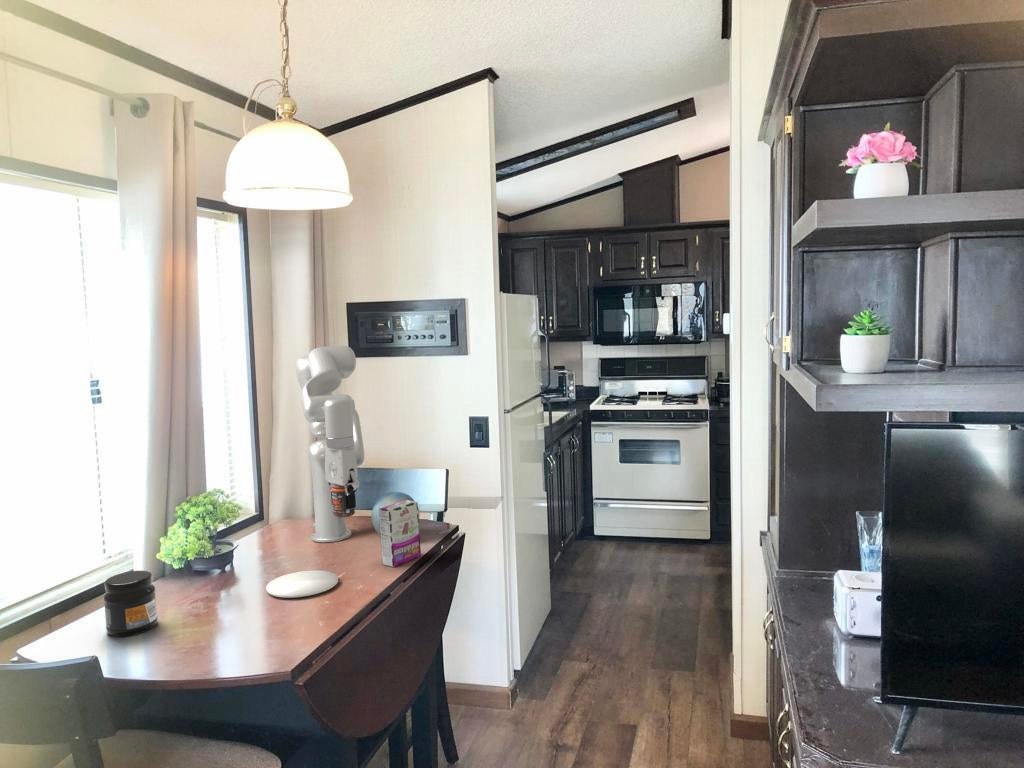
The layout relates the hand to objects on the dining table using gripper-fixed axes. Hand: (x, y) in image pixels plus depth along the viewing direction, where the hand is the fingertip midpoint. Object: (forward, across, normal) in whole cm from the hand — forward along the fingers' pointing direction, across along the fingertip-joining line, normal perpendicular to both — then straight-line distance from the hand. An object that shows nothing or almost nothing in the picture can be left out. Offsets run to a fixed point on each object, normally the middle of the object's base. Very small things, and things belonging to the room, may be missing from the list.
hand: (343, 505), depth 199 cm
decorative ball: (+18, -10, +25) cm, 32 cm away
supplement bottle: (+3, 0, 0) cm, 3 cm away
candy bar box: (+18, +8, +13) cm, 23 cm away
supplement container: (+17, -2, -55) cm, 58 cm away
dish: (+17, +5, -16) cm, 24 cm away
